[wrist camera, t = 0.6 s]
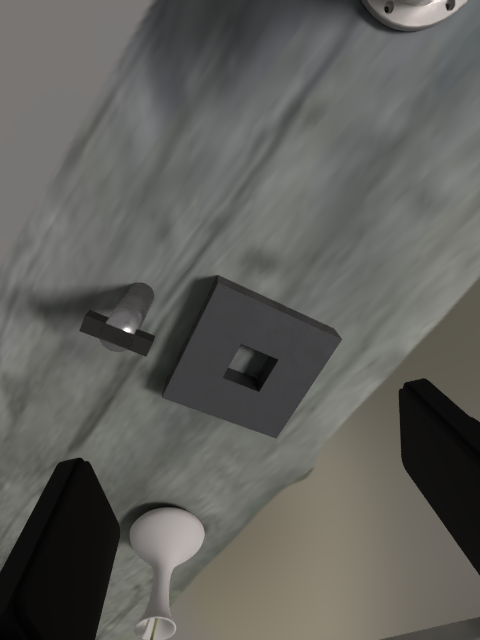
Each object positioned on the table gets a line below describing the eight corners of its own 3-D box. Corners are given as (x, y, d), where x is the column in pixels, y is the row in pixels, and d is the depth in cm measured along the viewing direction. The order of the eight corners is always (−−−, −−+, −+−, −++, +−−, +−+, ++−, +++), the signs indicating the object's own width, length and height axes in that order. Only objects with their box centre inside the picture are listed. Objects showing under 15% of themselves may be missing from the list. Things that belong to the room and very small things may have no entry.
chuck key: (120, 272, 39) (87, 308, 29) (170, 294, 41) (155, 335, 31) (111, 295, 40) (77, 337, 30) (160, 316, 42) (143, 362, 32)
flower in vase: (173, 487, 53) (141, 733, 30) (219, 527, 57) (222, 771, 34) (108, 527, 55) (32, 783, 32) (156, 563, 59) (120, 813, 36)
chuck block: (218, 275, 40) (218, 282, 38) (334, 328, 44) (342, 339, 41) (165, 383, 45) (161, 397, 43) (272, 423, 49) (276, 438, 46)
